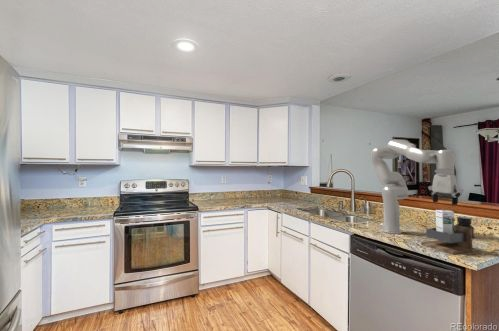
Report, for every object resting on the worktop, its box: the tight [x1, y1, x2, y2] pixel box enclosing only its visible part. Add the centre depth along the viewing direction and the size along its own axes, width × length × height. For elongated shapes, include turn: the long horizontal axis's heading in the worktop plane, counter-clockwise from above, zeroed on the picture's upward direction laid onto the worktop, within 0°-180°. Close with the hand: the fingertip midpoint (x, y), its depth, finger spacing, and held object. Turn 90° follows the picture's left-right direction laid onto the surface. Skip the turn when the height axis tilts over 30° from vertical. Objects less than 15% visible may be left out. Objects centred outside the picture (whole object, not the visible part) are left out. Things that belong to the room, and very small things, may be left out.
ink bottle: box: [455, 216, 475, 239], centre depth 152 cm, size 10×9×12 cm
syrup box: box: [435, 209, 455, 234], centre depth 129 cm, size 6×6×14 cm
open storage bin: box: [425, 227, 466, 243], centre depth 129 cm, size 12×12×4 cm
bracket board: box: [420, 224, 473, 255], centre depth 129 cm, size 16×15×12 cm
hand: (444, 203), depth 129 cm, fingers open, 9 cm apart
